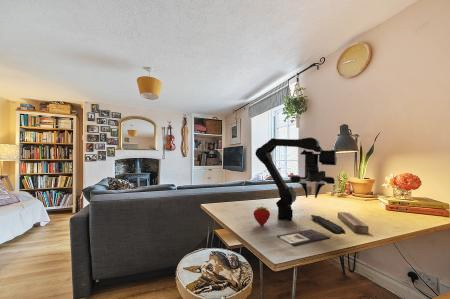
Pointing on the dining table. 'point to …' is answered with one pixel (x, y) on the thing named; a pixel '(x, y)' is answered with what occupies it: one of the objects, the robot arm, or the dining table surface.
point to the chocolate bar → (303, 237)
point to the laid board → (353, 222)
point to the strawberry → (261, 215)
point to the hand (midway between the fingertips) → (311, 197)
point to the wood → (328, 225)
